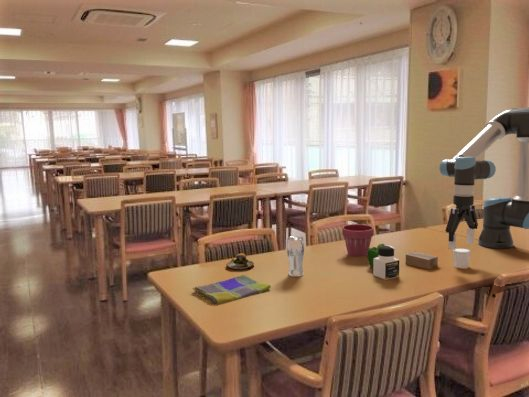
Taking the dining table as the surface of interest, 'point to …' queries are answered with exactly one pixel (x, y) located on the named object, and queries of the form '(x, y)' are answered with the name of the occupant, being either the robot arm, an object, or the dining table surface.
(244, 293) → the dish towel
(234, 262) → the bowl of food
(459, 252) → the white cup
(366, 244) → the plant pot
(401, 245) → the dining table surface
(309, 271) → the dining table surface
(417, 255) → the walnut base block
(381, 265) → the medicine bottle
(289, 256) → the beer glass
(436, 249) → the dining table surface
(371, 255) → the bell pepper
